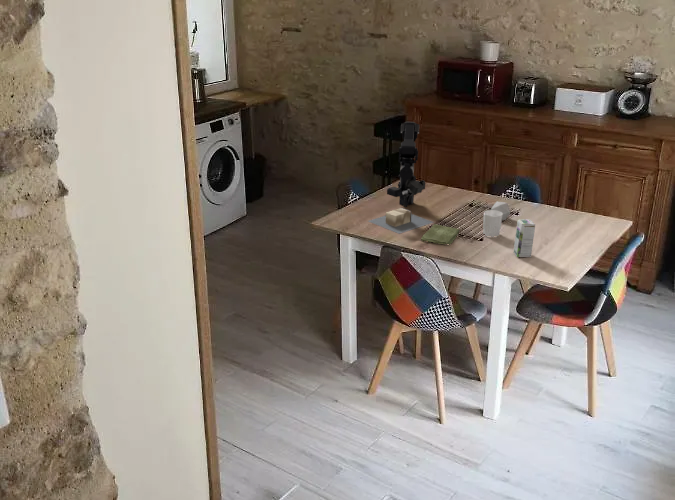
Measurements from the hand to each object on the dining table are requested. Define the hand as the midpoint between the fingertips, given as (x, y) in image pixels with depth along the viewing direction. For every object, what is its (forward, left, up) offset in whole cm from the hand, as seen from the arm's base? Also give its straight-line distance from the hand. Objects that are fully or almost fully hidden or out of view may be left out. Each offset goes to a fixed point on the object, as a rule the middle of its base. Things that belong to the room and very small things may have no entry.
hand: (405, 207), depth 313 cm
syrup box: (-11, +56, -8) cm, 58 cm away
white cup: (-19, +34, -8) cm, 39 cm away
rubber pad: (+2, 0, -8) cm, 8 cm away
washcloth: (0, +22, -8) cm, 23 cm away
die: (-38, +24, -8) cm, 45 cm away
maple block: (-1, 0, -4) cm, 4 cm away
